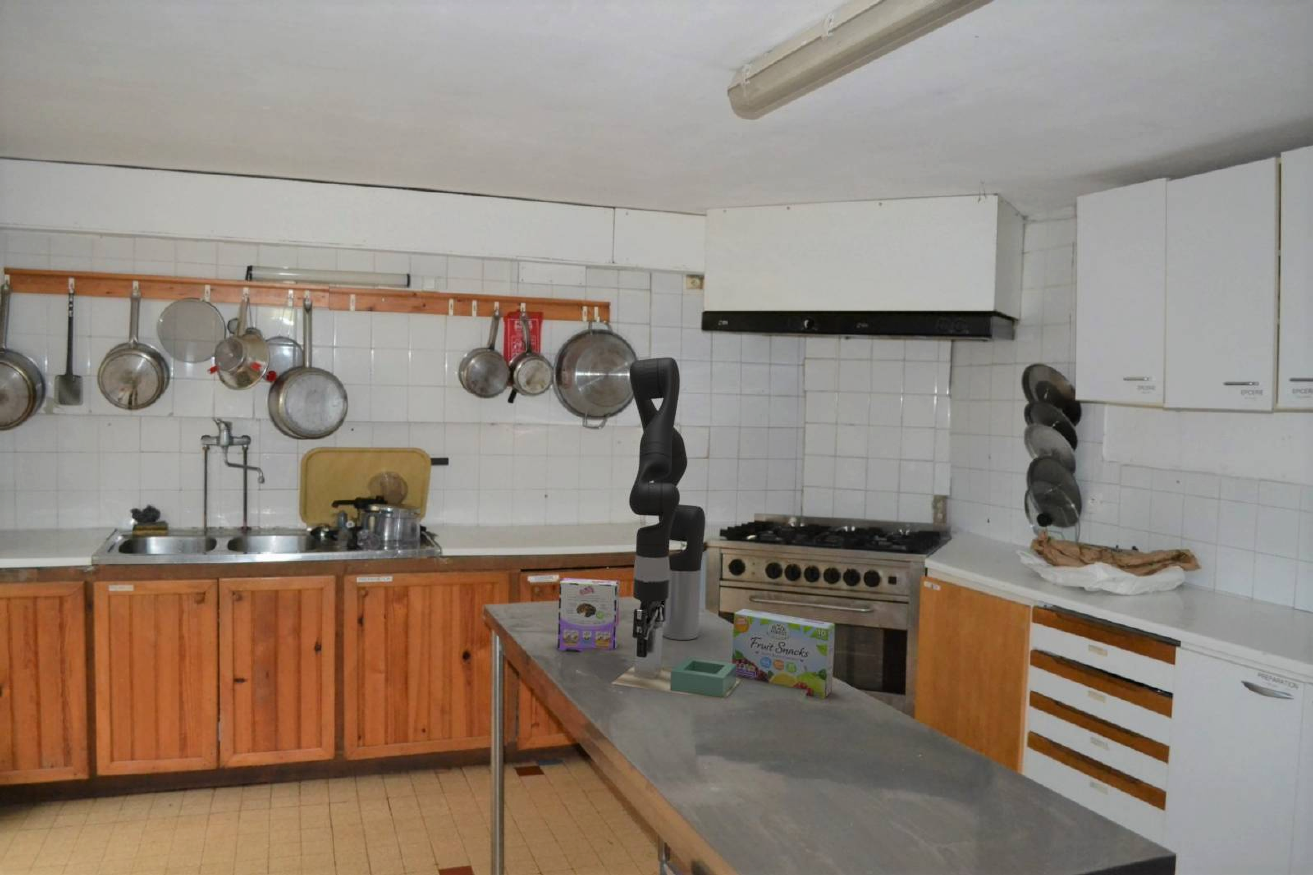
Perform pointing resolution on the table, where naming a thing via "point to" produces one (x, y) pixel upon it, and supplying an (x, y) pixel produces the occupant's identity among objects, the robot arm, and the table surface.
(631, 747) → the table surface
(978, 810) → the table surface
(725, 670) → the teal hollow square frame
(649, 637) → the stepped grey pillar
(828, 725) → the table surface
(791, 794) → the table surface
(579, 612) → the candy box
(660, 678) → the board
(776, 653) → the snack box
